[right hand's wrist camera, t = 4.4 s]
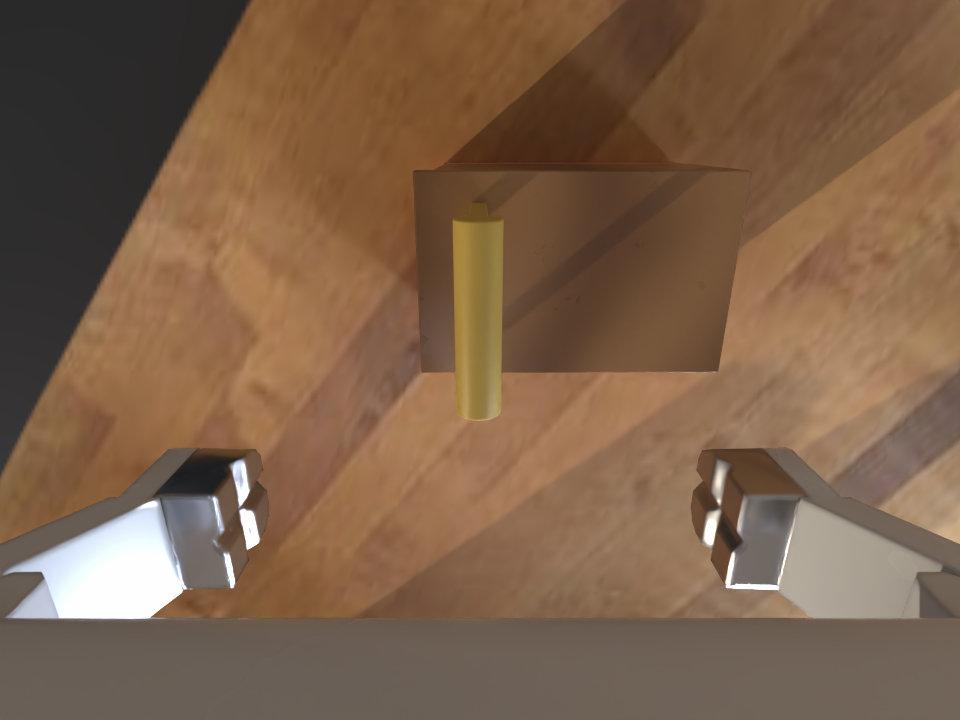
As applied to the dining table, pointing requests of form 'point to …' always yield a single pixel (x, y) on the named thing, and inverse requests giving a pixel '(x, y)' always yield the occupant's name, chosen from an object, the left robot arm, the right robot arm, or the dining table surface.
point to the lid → (573, 273)
